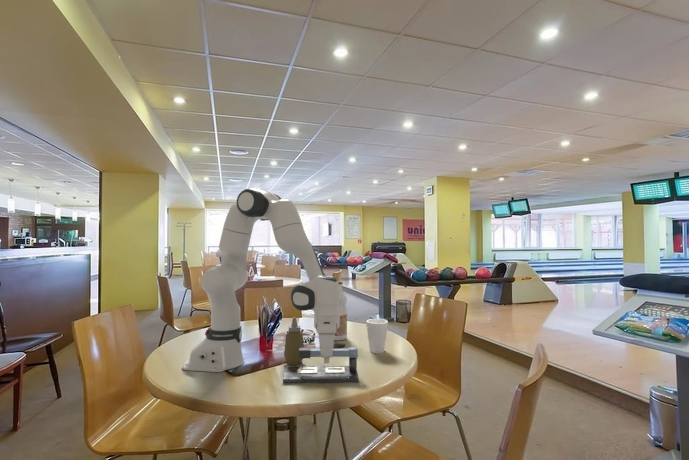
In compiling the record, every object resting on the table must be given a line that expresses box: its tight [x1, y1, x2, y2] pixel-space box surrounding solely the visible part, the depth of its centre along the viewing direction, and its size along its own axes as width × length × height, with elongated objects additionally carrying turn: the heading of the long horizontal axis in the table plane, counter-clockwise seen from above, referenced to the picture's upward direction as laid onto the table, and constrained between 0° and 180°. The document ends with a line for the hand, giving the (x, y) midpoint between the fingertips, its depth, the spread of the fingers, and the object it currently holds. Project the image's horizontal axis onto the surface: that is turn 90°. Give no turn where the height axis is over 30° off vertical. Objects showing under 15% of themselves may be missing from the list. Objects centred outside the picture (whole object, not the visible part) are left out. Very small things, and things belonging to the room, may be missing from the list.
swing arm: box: [299, 347, 359, 359], centre depth 132 cm, size 21×4×3 cm, turn 93°
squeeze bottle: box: [283, 316, 305, 366], centre depth 144 cm, size 8×8×18 cm
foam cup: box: [365, 318, 389, 354], centre depth 160 cm, size 10×9×13 cm
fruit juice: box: [334, 280, 348, 341], centre depth 179 cm, size 9×9×28 cm
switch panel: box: [282, 357, 360, 384], centre depth 131 cm, size 26×12×6 cm, turn 93°
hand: (326, 362), depth 126 cm, fingers closed
